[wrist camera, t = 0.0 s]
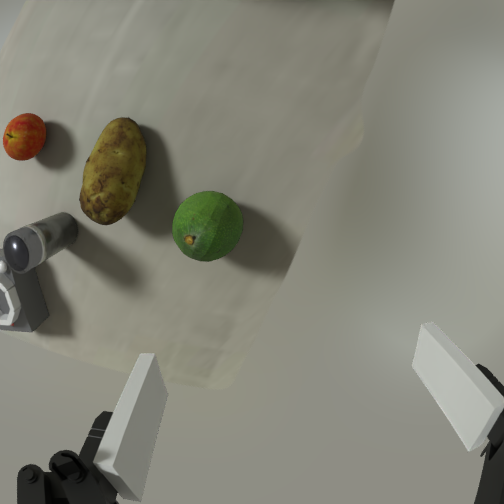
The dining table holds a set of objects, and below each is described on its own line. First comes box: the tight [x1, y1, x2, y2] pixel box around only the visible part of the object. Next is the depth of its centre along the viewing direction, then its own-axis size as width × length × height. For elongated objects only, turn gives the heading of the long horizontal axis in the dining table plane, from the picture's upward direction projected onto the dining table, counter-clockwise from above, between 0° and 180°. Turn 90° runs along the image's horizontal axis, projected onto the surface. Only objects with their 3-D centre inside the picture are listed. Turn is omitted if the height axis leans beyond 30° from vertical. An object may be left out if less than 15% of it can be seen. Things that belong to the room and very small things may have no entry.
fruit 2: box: [172, 191, 243, 262], centre depth 34 cm, size 8×8×12 cm
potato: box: [79, 118, 146, 225], centre depth 33 cm, size 8×13×8 cm, turn 150°
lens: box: [3, 212, 78, 274], centre depth 33 cm, size 5×5×12 cm
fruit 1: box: [3, 113, 46, 161], centre depth 31 cm, size 7×7×8 cm
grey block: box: [0, 249, 49, 332], centre depth 38 cm, size 13×9×8 cm
